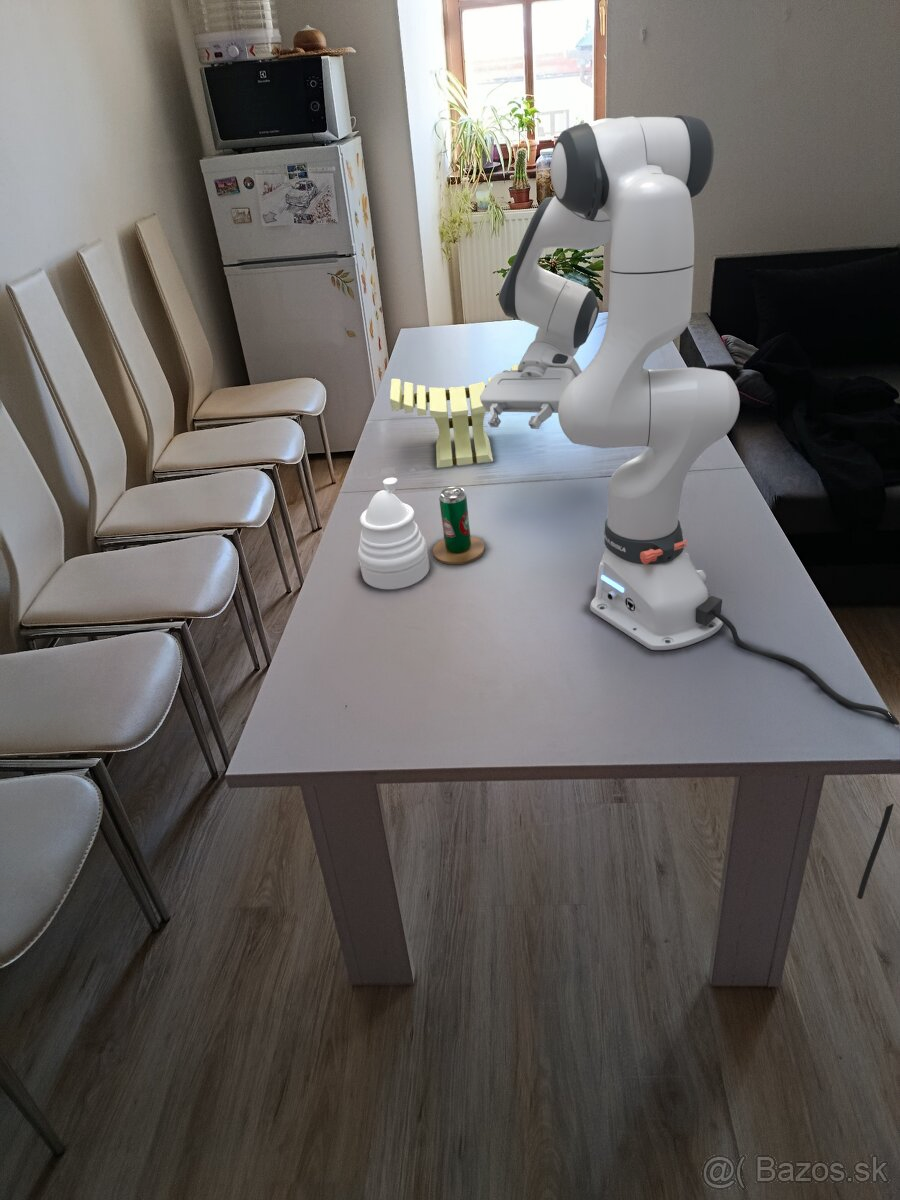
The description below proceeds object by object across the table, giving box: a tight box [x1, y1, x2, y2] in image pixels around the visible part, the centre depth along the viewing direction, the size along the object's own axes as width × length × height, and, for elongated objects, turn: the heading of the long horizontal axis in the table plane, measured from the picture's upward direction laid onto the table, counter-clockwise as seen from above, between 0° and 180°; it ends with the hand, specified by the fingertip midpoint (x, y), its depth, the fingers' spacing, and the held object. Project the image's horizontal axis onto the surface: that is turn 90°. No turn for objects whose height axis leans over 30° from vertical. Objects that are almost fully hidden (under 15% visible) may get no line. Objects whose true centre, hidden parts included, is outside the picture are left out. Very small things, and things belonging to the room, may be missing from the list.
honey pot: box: [357, 477, 430, 590], centre depth 145 cm, size 13×13×18 cm
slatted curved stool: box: [389, 363, 520, 469], centre depth 186 cm, size 30×16×18 cm, turn 92°
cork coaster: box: [432, 535, 485, 566], centre depth 153 cm, size 10×10×1 cm
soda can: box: [438, 486, 471, 553], centre depth 150 cm, size 5×5×12 cm
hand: (512, 426), depth 149 cm, fingers open, 8 cm apart
